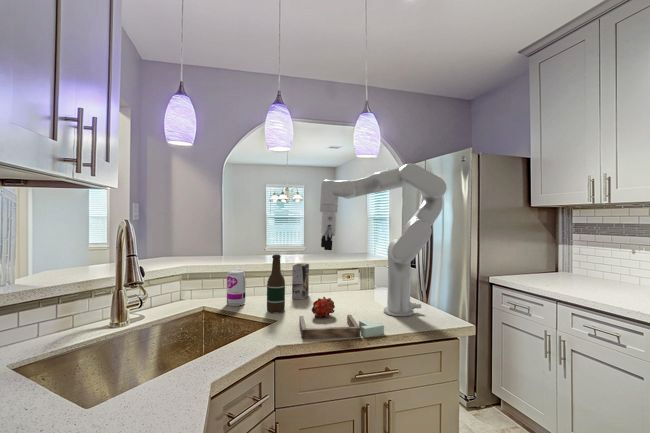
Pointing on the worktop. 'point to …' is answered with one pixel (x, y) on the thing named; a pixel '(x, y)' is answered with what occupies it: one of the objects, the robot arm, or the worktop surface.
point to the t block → (370, 328)
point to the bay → (330, 330)
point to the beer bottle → (276, 288)
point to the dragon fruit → (323, 307)
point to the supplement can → (236, 287)
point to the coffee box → (300, 281)
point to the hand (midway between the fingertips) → (326, 248)
